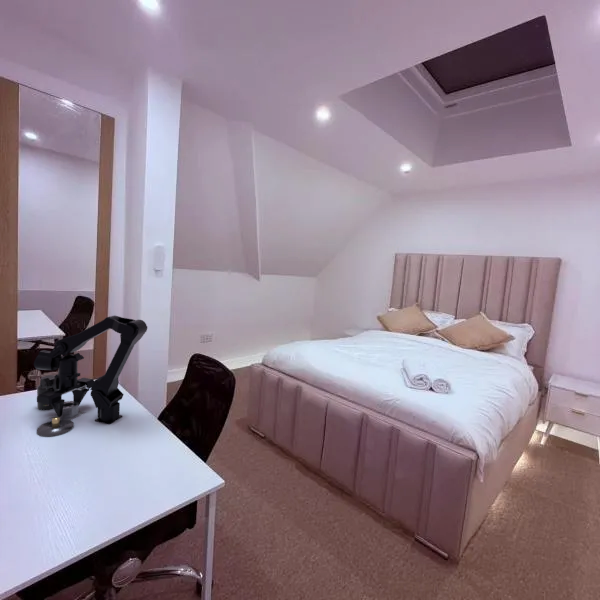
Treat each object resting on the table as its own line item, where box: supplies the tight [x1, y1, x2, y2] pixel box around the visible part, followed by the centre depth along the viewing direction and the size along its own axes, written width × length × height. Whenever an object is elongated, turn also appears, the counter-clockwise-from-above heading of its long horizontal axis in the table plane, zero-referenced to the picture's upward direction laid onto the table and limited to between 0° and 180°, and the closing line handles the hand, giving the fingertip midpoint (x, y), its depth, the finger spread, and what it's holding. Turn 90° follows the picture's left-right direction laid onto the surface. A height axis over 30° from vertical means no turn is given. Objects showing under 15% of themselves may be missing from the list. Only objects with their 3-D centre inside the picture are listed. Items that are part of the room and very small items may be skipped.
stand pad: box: [48, 410, 87, 421], centre depth 120 cm, size 8×8×1 cm
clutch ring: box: [55, 400, 79, 420], centre depth 119 cm, size 6×6×4 cm
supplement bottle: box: [36, 374, 59, 411], centre depth 124 cm, size 7×7×12 cm
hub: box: [36, 417, 75, 438], centre depth 110 cm, size 10×10×4 cm
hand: (67, 412), depth 120 cm, fingers closed on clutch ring, 6 cm apart
